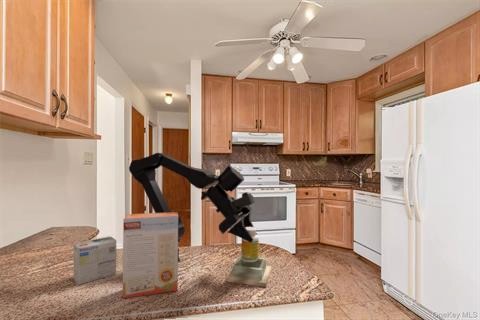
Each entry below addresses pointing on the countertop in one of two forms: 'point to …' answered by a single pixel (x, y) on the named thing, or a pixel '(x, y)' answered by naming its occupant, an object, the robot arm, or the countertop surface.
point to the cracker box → (150, 253)
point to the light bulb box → (94, 259)
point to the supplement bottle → (250, 246)
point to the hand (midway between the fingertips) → (254, 238)
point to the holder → (250, 272)
